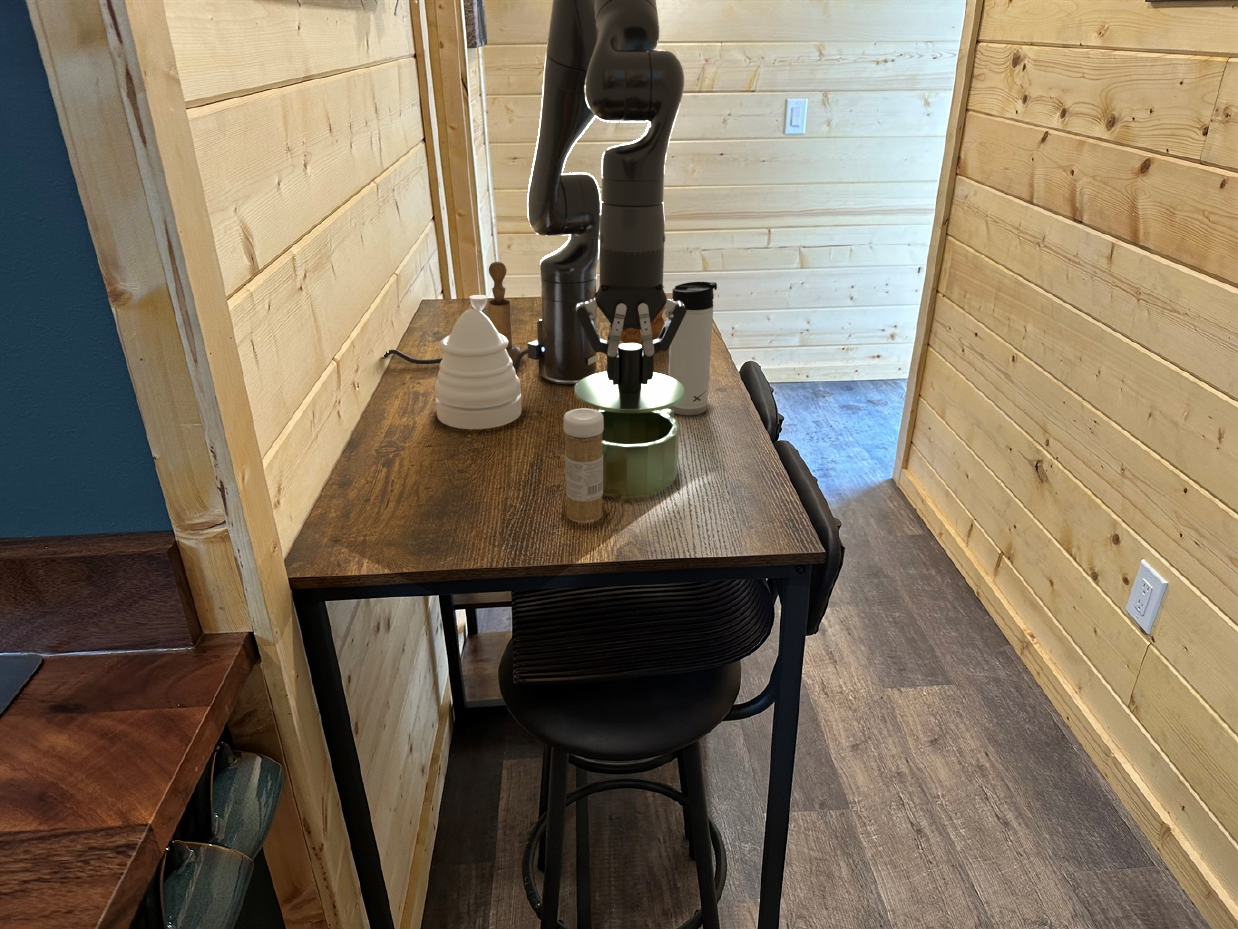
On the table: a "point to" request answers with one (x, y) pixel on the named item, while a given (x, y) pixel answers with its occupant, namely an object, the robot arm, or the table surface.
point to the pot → (639, 452)
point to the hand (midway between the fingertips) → (629, 381)
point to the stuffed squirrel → (635, 335)
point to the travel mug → (693, 346)
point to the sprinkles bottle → (584, 464)
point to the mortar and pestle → (501, 308)
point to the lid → (629, 387)
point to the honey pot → (476, 374)
